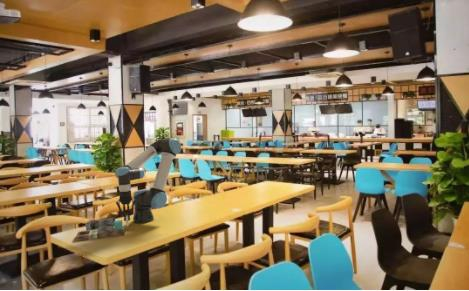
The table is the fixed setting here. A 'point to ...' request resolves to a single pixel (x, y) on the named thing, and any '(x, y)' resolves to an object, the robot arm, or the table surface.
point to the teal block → (118, 225)
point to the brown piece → (100, 231)
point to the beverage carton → (96, 223)
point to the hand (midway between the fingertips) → (127, 225)
